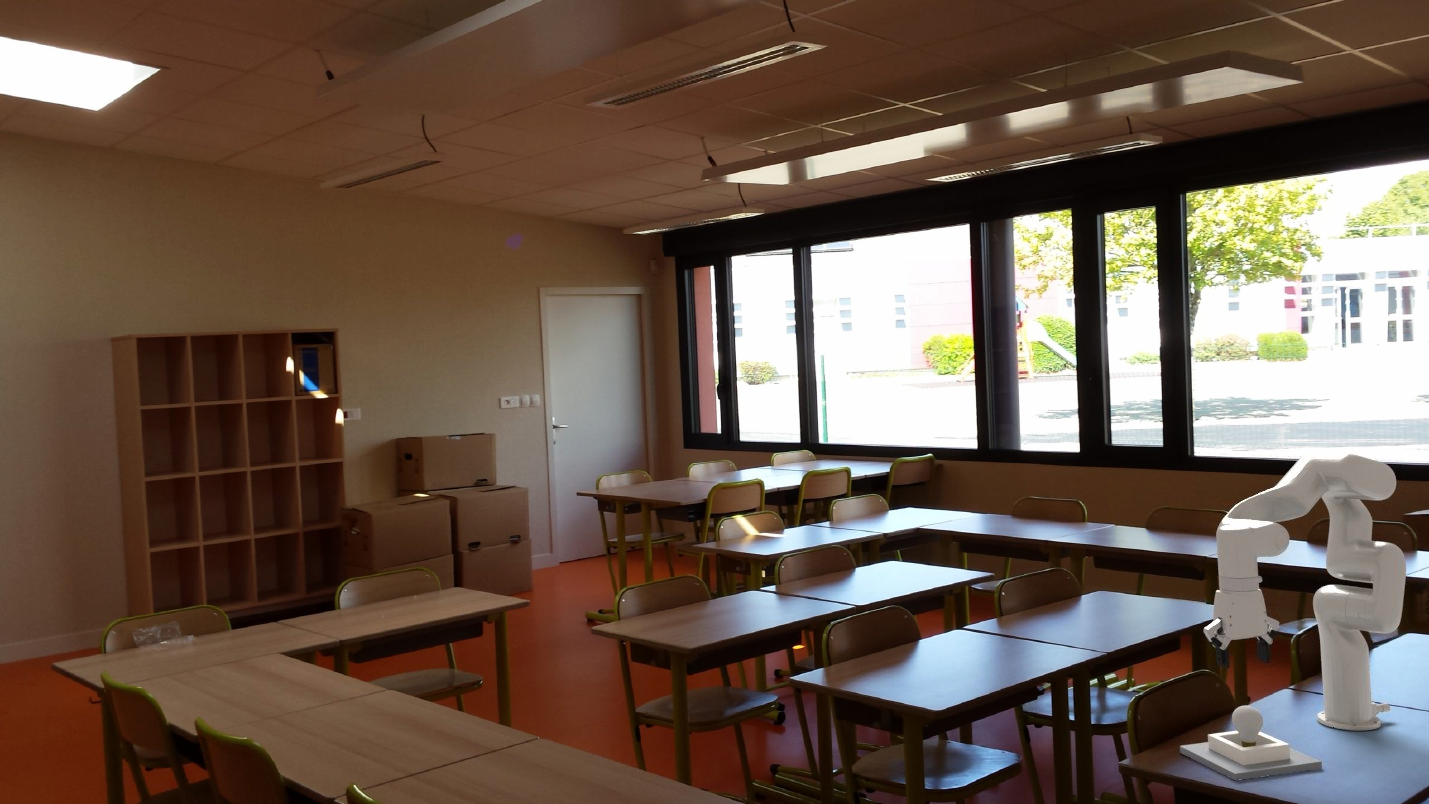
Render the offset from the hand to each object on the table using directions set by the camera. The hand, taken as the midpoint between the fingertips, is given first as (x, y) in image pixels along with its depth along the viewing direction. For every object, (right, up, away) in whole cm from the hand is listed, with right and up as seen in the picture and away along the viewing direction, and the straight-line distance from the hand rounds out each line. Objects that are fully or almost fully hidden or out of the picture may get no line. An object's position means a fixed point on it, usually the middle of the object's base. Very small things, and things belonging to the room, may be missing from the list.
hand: (1243, 664), depth 224 cm
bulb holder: (+1, -20, 0) cm, 20 cm away
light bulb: (+1, -19, 0) cm, 19 cm away
